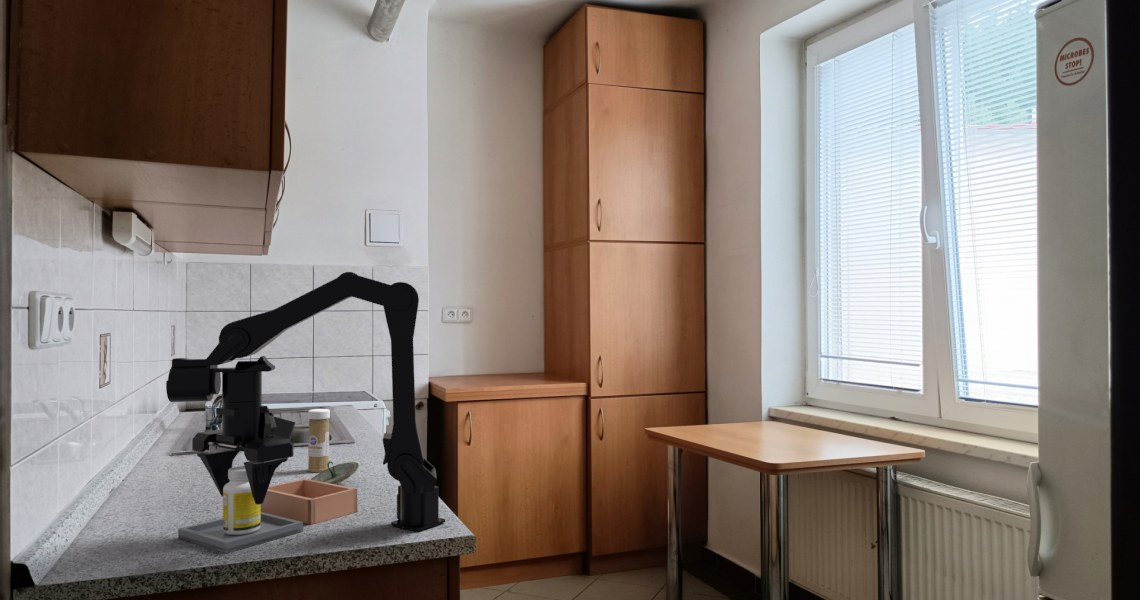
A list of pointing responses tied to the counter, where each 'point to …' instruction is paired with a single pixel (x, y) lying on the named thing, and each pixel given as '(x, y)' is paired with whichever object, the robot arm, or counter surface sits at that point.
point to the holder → (309, 501)
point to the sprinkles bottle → (318, 439)
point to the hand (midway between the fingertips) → (241, 499)
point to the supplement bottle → (239, 505)
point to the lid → (337, 473)
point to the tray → (216, 539)
